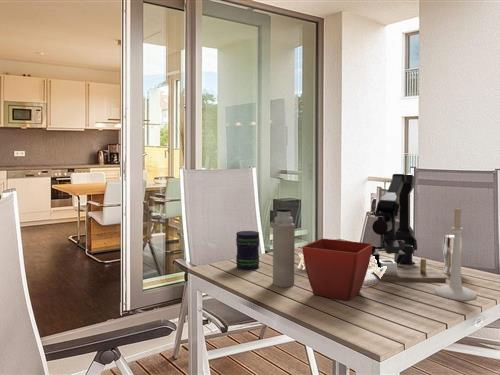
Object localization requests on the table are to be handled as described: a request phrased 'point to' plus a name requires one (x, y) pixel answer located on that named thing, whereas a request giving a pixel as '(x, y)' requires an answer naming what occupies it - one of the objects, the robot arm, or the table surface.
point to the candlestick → (456, 268)
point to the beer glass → (449, 252)
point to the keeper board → (415, 275)
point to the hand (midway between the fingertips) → (386, 270)
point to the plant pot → (336, 267)
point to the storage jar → (247, 250)
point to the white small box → (389, 267)
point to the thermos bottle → (283, 249)
